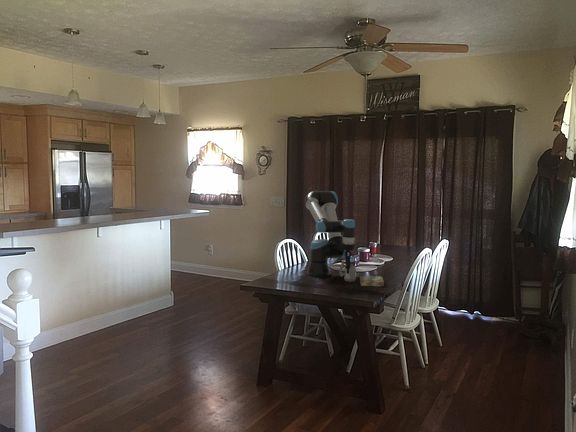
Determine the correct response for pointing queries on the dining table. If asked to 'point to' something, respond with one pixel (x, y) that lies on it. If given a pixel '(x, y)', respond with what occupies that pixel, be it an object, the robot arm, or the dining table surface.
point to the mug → (352, 272)
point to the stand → (371, 281)
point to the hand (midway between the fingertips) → (347, 276)
